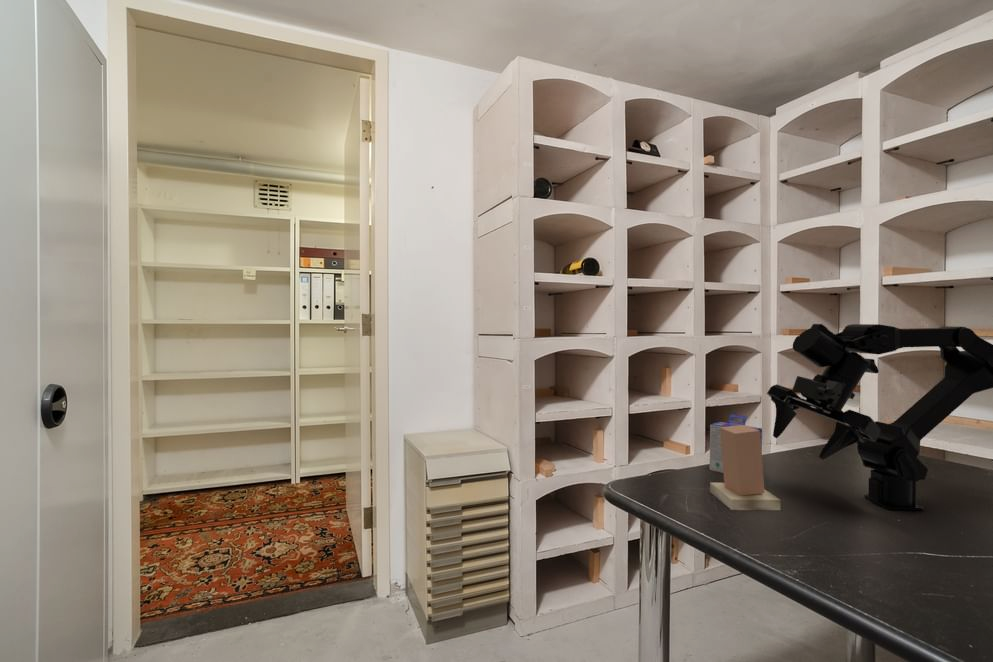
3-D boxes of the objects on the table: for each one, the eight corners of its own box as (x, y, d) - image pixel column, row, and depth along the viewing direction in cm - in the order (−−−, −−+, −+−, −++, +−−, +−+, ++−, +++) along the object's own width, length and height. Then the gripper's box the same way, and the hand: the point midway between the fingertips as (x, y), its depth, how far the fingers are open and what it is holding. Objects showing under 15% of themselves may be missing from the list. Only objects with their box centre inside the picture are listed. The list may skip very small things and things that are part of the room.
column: (748, 483, 92) (743, 424, 91) (764, 492, 87) (760, 430, 86) (724, 486, 91) (719, 427, 91) (739, 496, 86) (735, 433, 86)
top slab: (754, 492, 93) (754, 482, 93) (780, 510, 84) (780, 499, 84) (710, 492, 94) (710, 482, 93) (731, 510, 85) (731, 499, 84)
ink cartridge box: (763, 481, 103) (763, 417, 103) (752, 486, 100) (752, 421, 100) (720, 470, 111) (720, 411, 111) (708, 474, 108) (708, 414, 107)
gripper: (774, 348, 94) (734, 411, 93) (877, 375, 77) (828, 453, 76) (799, 373, 98) (761, 433, 98) (900, 404, 82) (855, 477, 81)
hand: (796, 447), depth 88 cm, fingers open, 9 cm apart
